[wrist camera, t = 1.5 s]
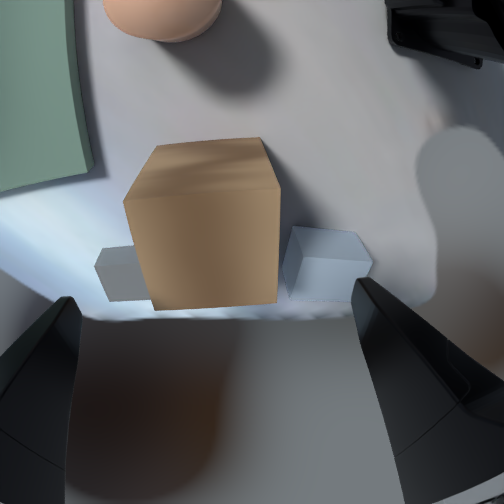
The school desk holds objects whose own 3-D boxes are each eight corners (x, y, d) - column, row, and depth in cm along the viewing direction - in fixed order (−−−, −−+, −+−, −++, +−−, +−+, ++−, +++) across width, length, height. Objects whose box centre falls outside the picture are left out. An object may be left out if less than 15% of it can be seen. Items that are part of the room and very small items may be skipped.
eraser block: (354, 231, 18) (373, 262, 16) (339, 269, 20) (354, 301, 18) (292, 224, 18) (303, 256, 15) (281, 265, 19) (289, 300, 17)
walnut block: (259, 137, 14) (280, 188, 9) (260, 224, 17) (276, 302, 12) (157, 145, 14) (122, 201, 9) (171, 231, 17) (154, 310, 12)
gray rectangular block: (198, 236, 18) (197, 258, 16) (205, 273, 19) (204, 296, 18) (103, 245, 17) (94, 266, 16) (116, 279, 19) (109, 301, 17)
